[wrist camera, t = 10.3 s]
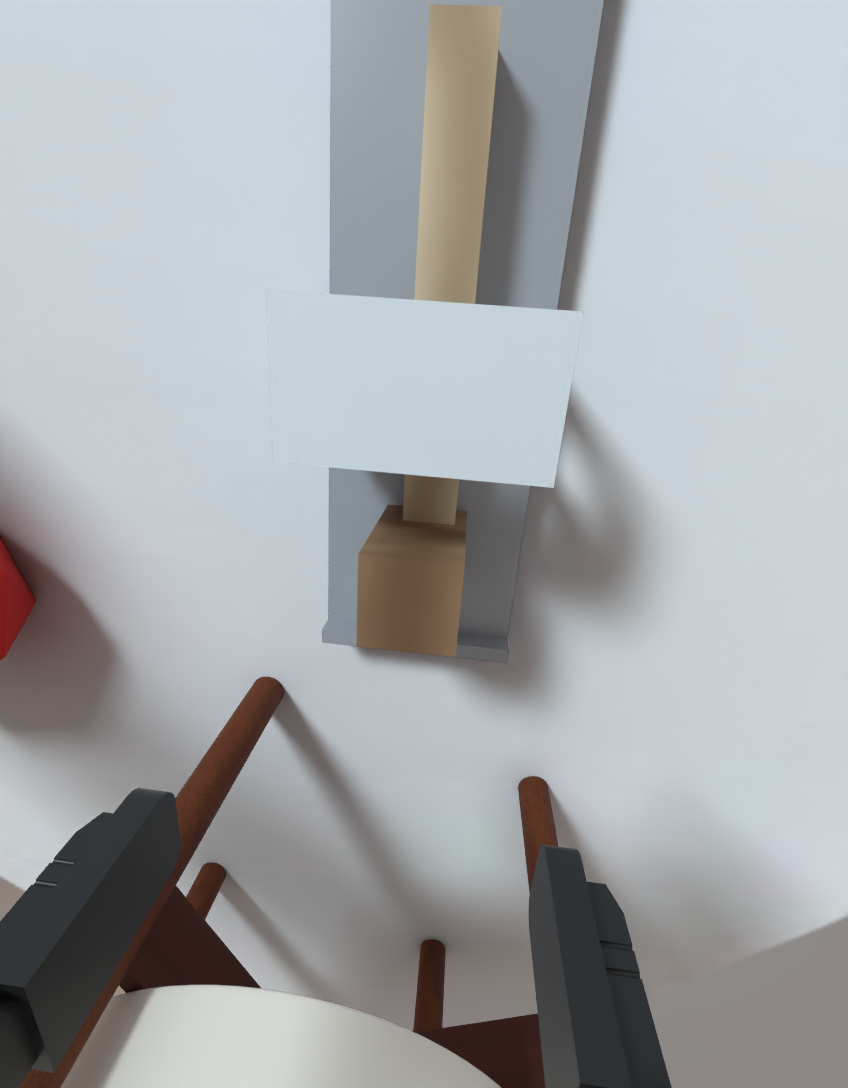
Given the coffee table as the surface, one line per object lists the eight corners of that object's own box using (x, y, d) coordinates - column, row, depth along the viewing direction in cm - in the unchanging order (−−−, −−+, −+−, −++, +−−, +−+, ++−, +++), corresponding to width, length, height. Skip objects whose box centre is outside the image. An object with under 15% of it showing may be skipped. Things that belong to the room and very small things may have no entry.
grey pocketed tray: (335, 621, 29) (271, 742, 20) (346, -565, 15) (135, -2136, 6) (503, 639, 29) (518, 773, 19) (683, -577, 14) (1088, -2370, 5)
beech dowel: (408, 506, 25) (402, 520, 23) (434, 48, 18) (430, 4, 16) (456, 510, 25) (454, 524, 22) (498, 49, 18) (502, 6, 16)
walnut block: (385, 576, 26) (356, 646, 20) (388, 504, 25) (358, 554, 18) (459, 583, 26) (455, 657, 19) (466, 511, 25) (464, 564, 18)
